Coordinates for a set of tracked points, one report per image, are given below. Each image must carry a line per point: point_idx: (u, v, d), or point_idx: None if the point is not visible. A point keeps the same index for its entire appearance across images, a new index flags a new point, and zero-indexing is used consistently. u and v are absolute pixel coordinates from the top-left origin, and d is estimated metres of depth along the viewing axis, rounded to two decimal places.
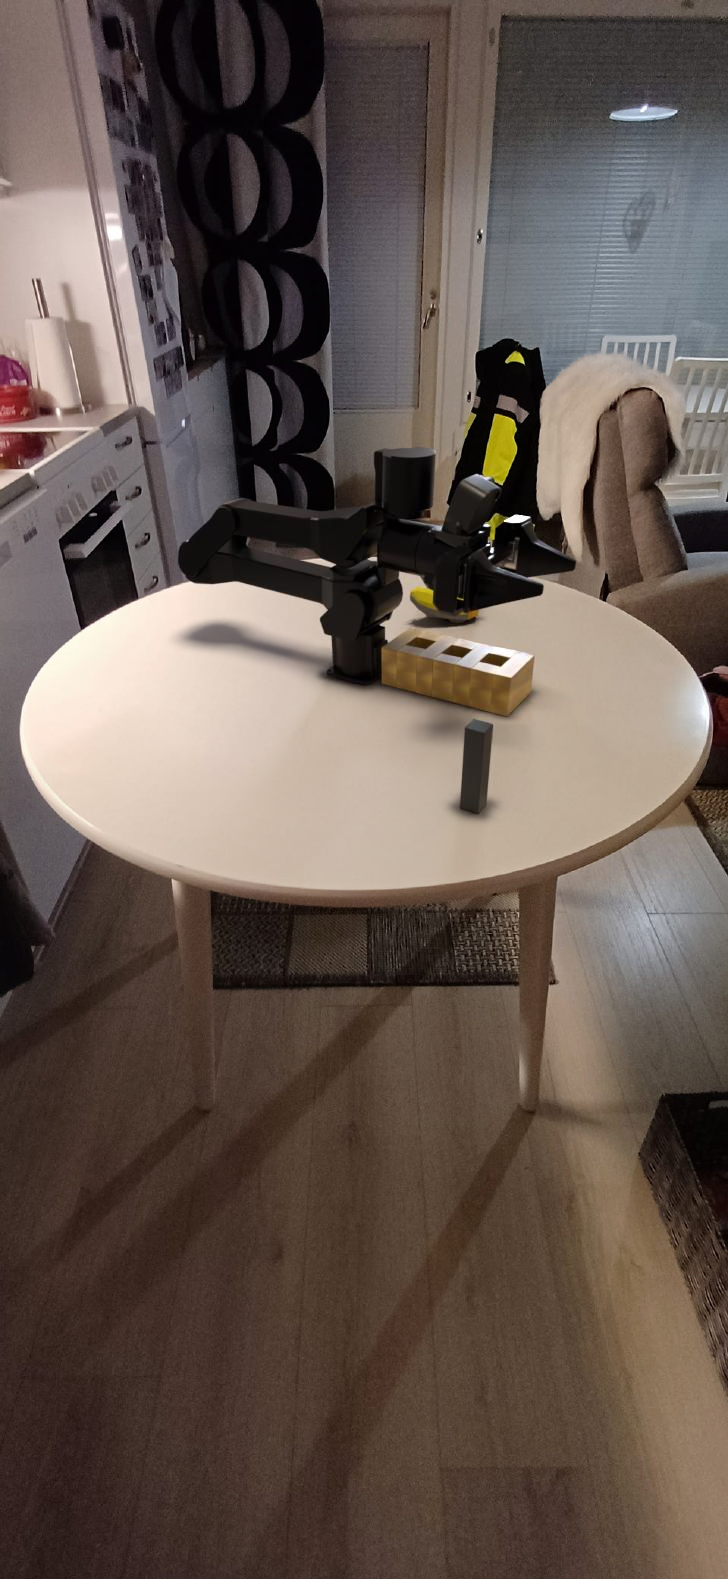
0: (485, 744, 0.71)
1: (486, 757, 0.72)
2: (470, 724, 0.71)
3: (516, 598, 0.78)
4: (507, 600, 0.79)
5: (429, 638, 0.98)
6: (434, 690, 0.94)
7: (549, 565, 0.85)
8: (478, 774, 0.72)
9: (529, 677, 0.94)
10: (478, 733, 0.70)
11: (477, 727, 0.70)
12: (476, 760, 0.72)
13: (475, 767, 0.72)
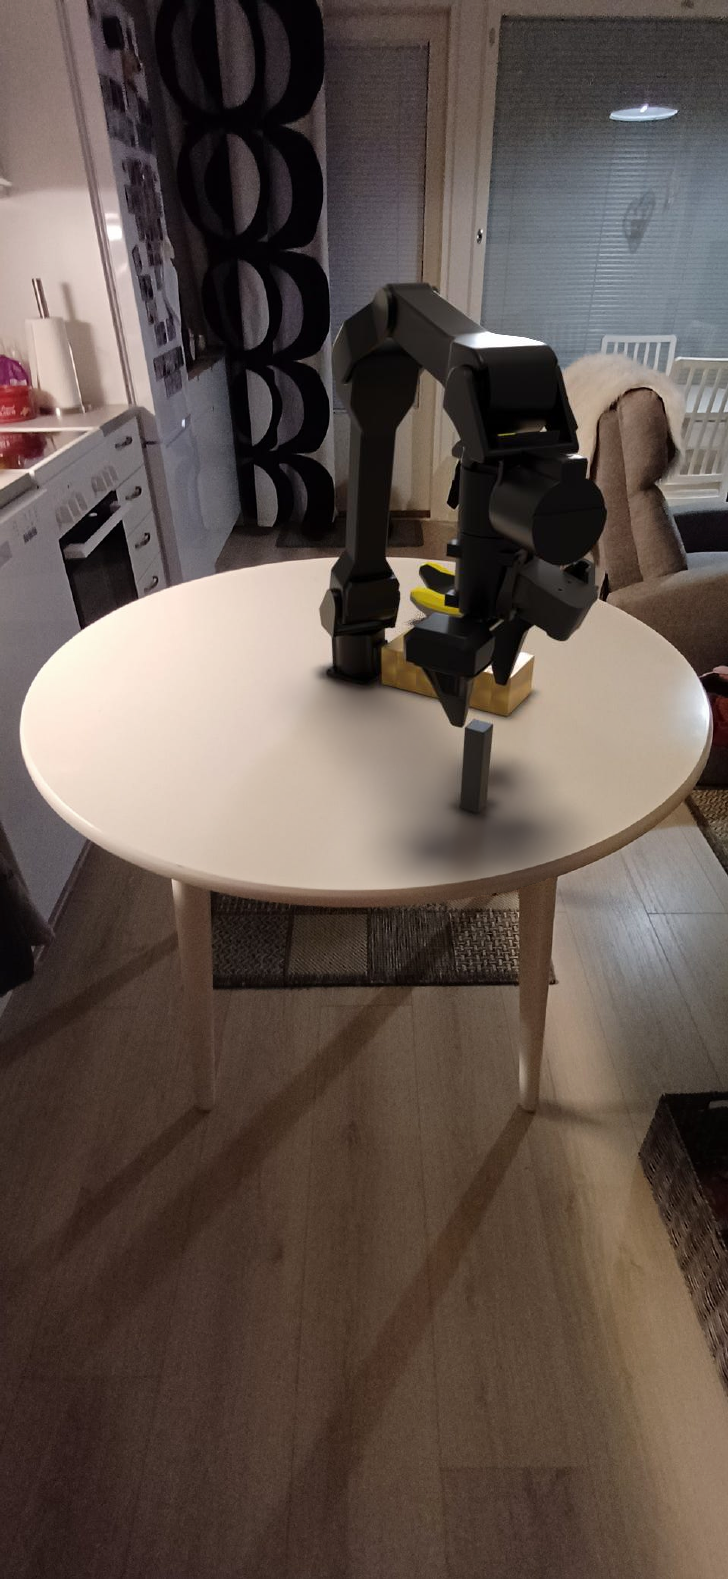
0: (485, 744, 0.71)
1: (486, 757, 0.72)
2: (470, 724, 0.71)
3: (442, 703, 0.65)
4: (438, 694, 0.64)
5: None
6: None
7: (499, 654, 0.71)
8: (478, 774, 0.72)
9: (529, 677, 0.94)
10: (478, 733, 0.70)
11: (477, 727, 0.70)
12: (476, 760, 0.72)
13: (475, 767, 0.72)
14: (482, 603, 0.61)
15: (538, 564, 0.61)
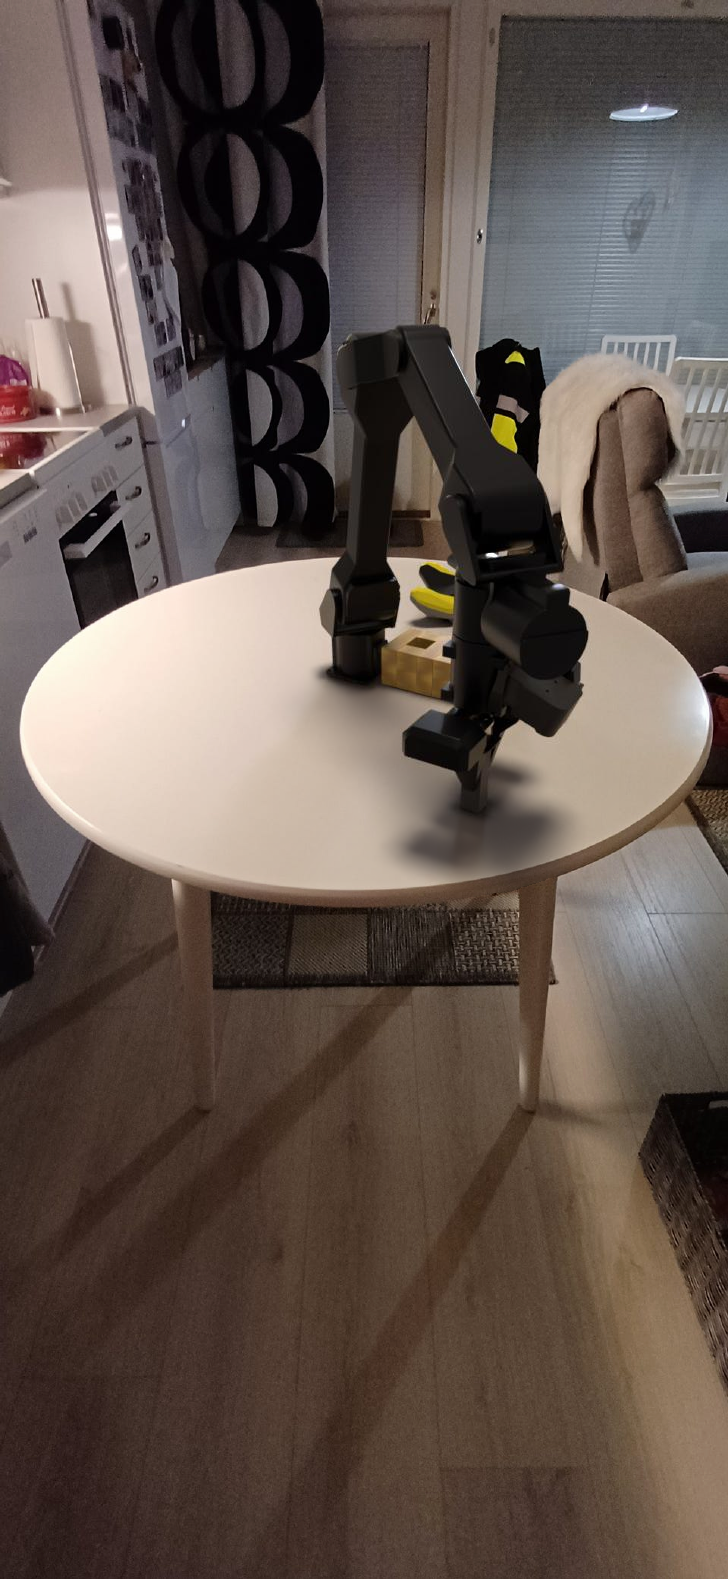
0: None
1: (485, 757, 0.72)
2: None
3: None
4: None
5: (429, 638, 0.98)
6: (434, 690, 0.94)
7: None
8: None
9: None
10: None
11: None
12: None
13: None
14: (475, 700, 0.66)
15: None
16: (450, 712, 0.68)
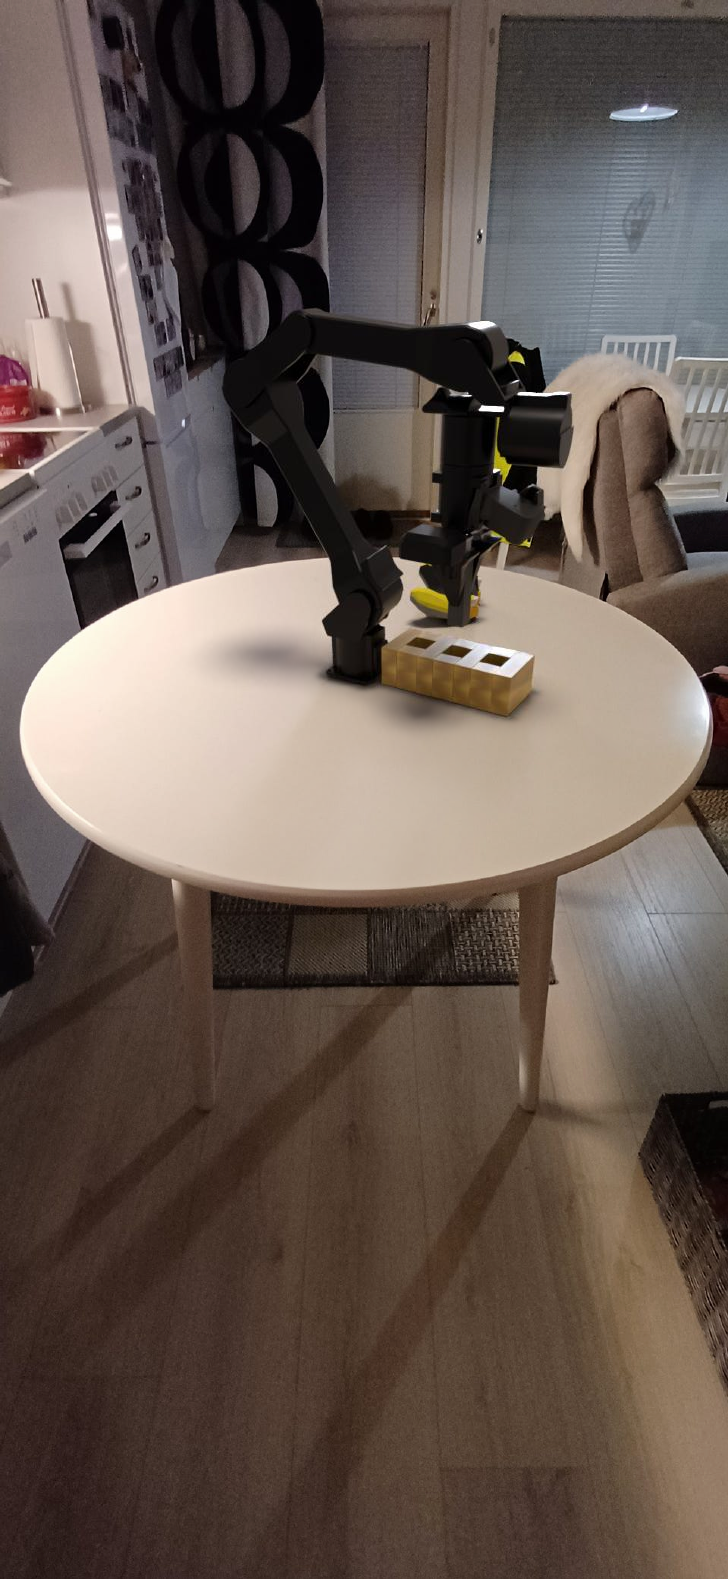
0: None
1: (468, 575, 0.88)
2: None
3: (443, 587, 0.88)
4: (440, 580, 0.88)
5: (429, 638, 0.98)
6: (434, 690, 0.94)
7: None
8: None
9: (529, 677, 0.94)
10: None
11: None
12: None
13: None
14: (458, 518, 0.82)
15: (500, 489, 0.82)
16: None
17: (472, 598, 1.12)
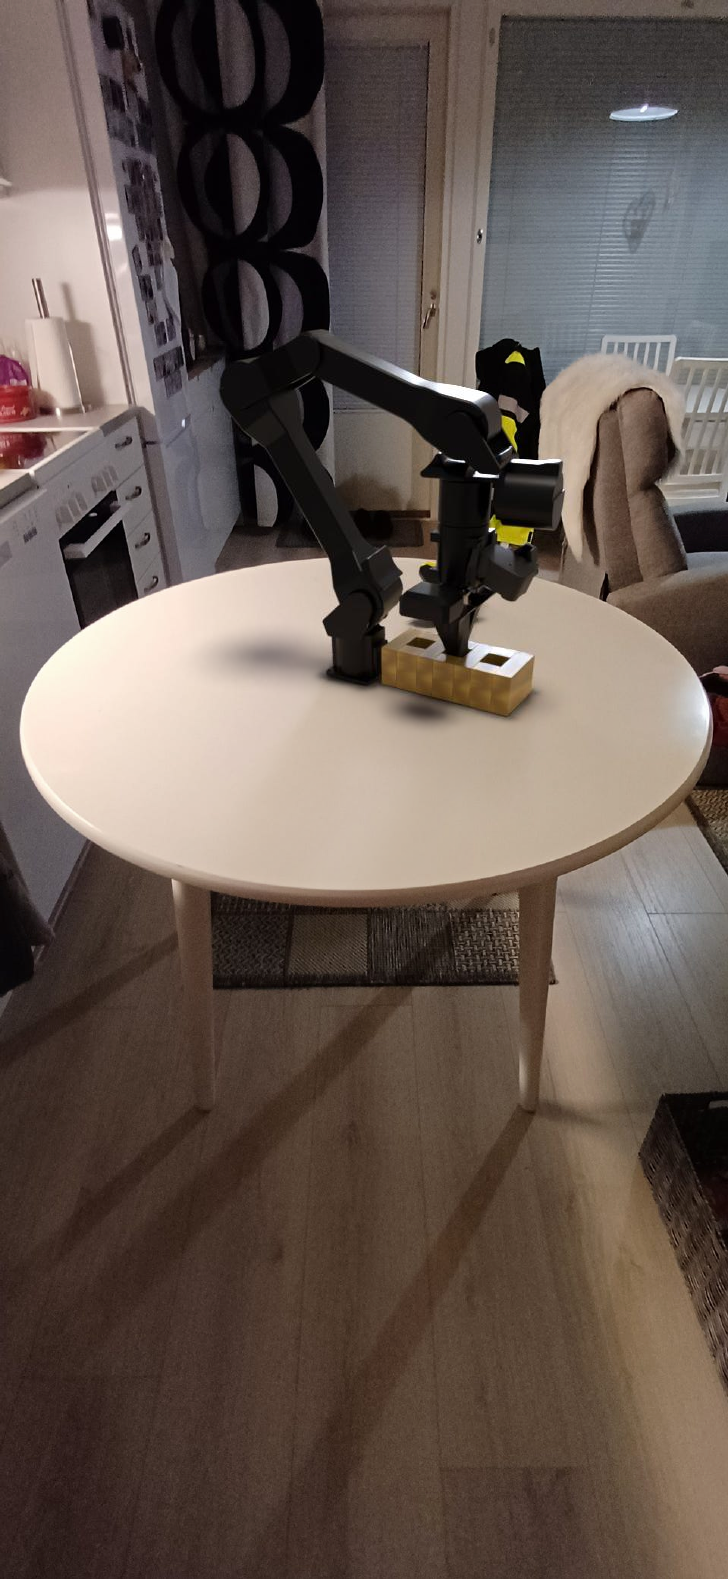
0: None
1: (465, 627, 0.92)
2: None
3: (441, 638, 0.92)
4: (438, 631, 0.92)
5: (429, 638, 0.98)
6: (434, 690, 0.94)
7: None
8: None
9: (529, 677, 0.94)
10: None
11: None
12: None
13: None
14: (455, 575, 0.86)
15: (495, 547, 0.86)
16: None
17: None
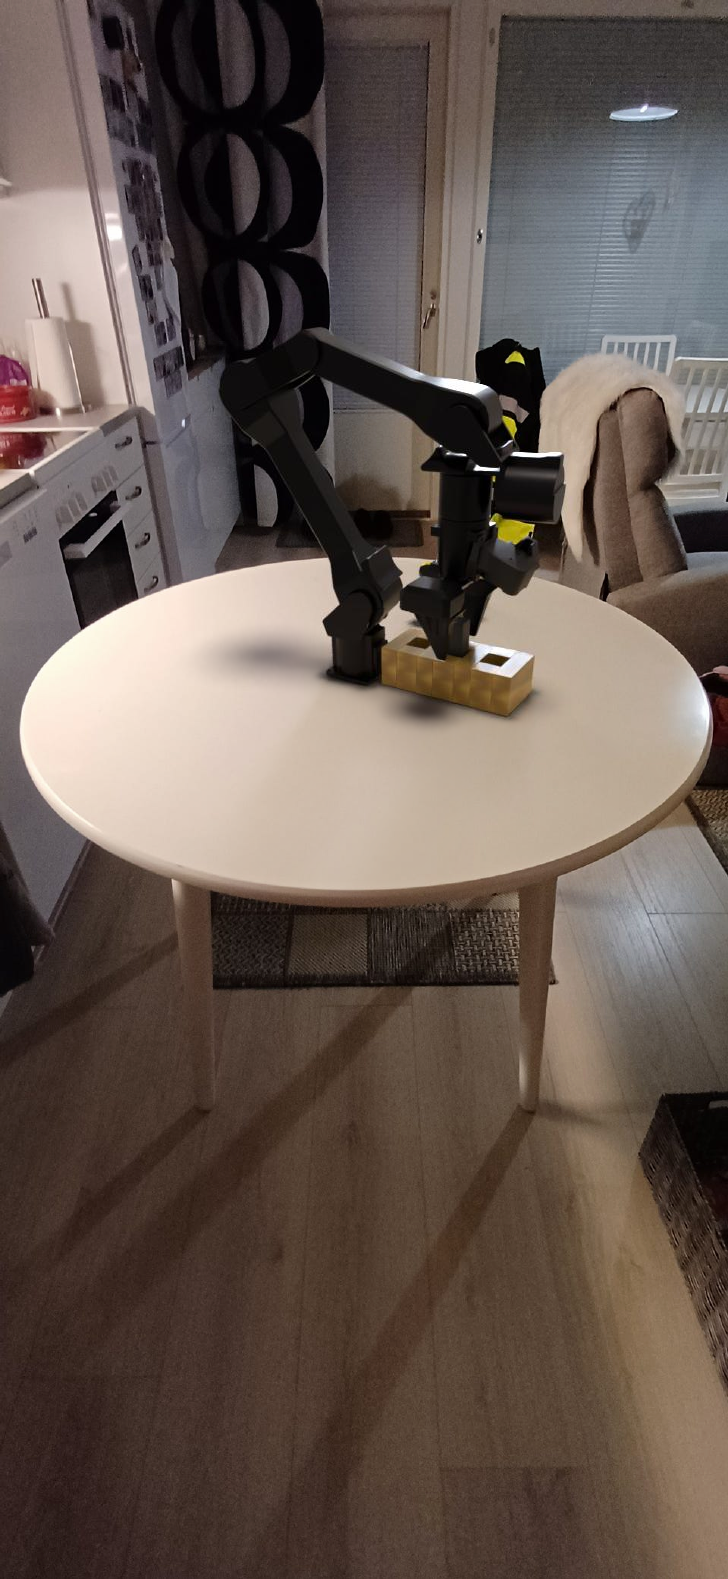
0: (464, 634, 0.92)
1: (464, 645, 0.93)
2: None
3: (430, 642, 0.90)
4: (427, 635, 0.89)
5: None
6: (434, 690, 0.94)
7: (470, 612, 0.95)
8: None
9: (529, 677, 0.94)
10: (458, 624, 0.91)
11: (457, 621, 0.92)
12: (457, 648, 0.93)
13: (456, 653, 0.93)
14: (456, 569, 0.86)
15: (496, 541, 0.86)
16: None
17: None
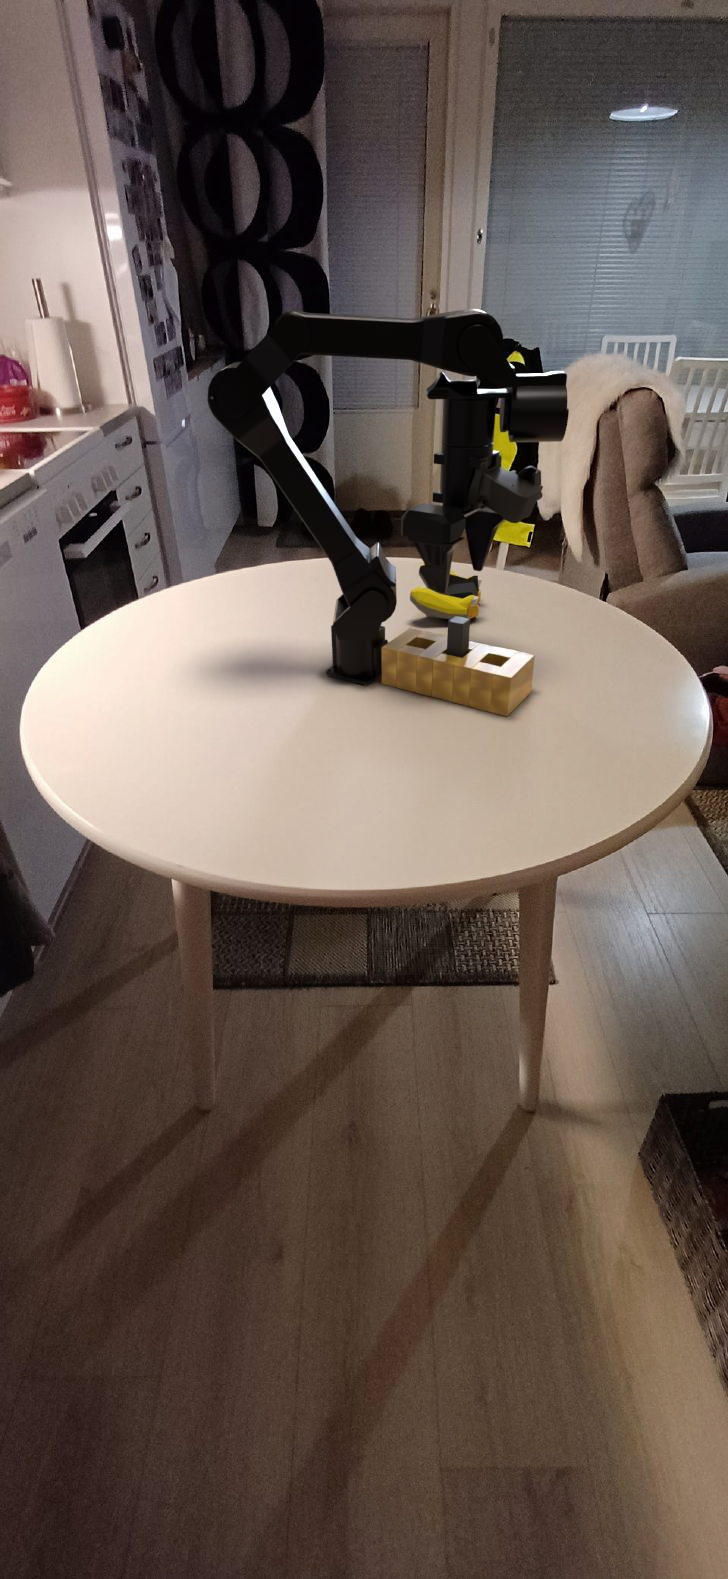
0: (464, 634, 0.92)
1: (464, 645, 0.93)
2: (452, 619, 0.92)
3: (430, 573, 0.90)
4: (427, 566, 0.89)
5: (429, 638, 0.98)
6: (434, 690, 0.94)
7: (475, 546, 0.96)
8: None
9: (529, 677, 0.94)
10: (458, 624, 0.91)
11: (457, 621, 0.92)
12: (457, 648, 0.93)
13: (456, 653, 0.93)
14: (458, 497, 0.86)
15: (499, 469, 0.86)
16: None
17: (472, 598, 1.12)
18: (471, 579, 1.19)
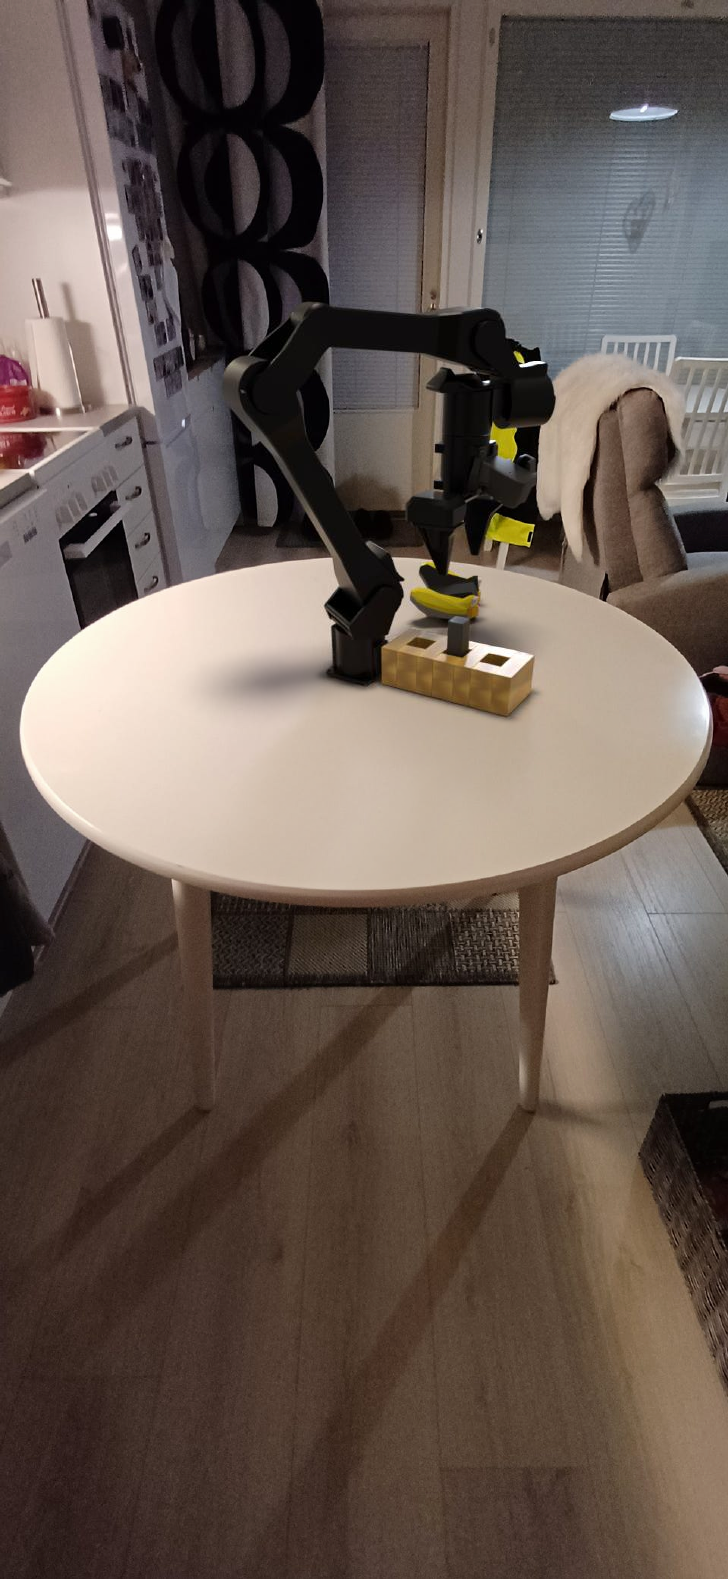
0: (464, 634, 0.92)
1: (464, 645, 0.93)
2: (452, 619, 0.92)
3: (432, 557, 0.95)
4: (429, 550, 0.94)
5: (429, 638, 0.98)
6: (434, 690, 0.94)
7: (473, 532, 1.01)
8: None
9: (529, 677, 0.94)
10: (458, 624, 0.91)
11: (457, 621, 0.92)
12: (457, 648, 0.93)
13: (456, 653, 0.93)
14: (458, 484, 0.91)
15: (496, 458, 0.91)
16: None
17: (472, 598, 1.12)
18: (471, 579, 1.19)
